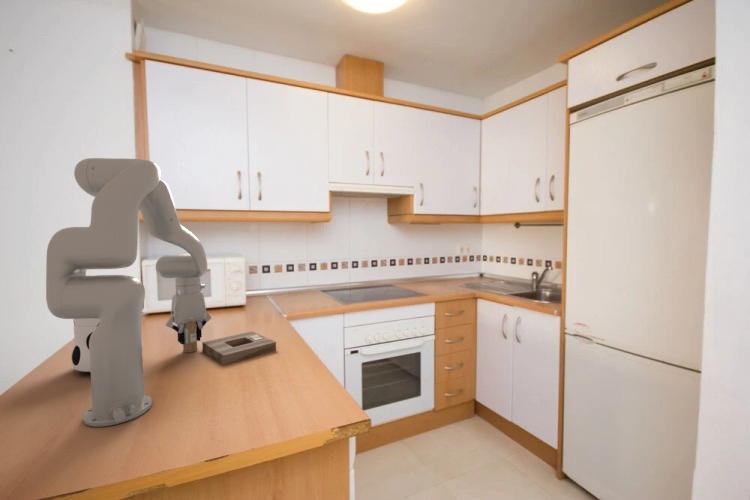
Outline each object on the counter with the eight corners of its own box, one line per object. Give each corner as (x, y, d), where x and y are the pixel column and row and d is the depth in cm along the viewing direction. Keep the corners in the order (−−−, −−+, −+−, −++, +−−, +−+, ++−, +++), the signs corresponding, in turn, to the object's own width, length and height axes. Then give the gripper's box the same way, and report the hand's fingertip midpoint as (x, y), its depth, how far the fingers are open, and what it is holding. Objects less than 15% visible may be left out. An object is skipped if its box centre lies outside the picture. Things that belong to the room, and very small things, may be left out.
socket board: (276, 350, 119) (275, 341, 119) (223, 364, 106) (223, 354, 106) (252, 338, 132) (251, 330, 132) (202, 350, 119) (202, 341, 119)
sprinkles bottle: (198, 351, 118) (197, 312, 117) (183, 354, 116) (181, 314, 115) (196, 347, 122) (195, 310, 121) (182, 350, 119) (180, 312, 119)
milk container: (86, 360, 110) (84, 305, 109) (149, 353, 116) (147, 301, 115) (59, 382, 94) (56, 318, 93) (134, 373, 100) (132, 312, 99)
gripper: (209, 285, 126) (211, 334, 127) (157, 291, 114) (159, 345, 115) (217, 287, 121) (219, 338, 122) (163, 294, 109) (165, 350, 110)
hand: (189, 341), depth 119 cm, fingers closed on sprinkles bottle, 4 cm apart
